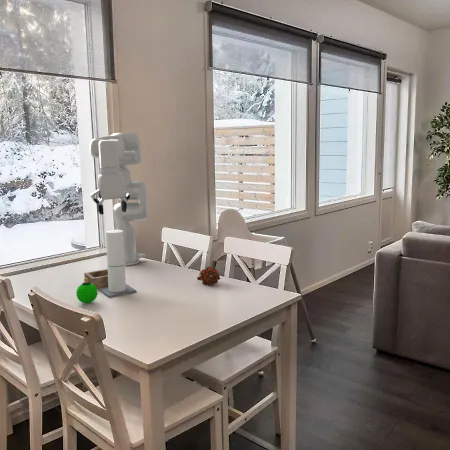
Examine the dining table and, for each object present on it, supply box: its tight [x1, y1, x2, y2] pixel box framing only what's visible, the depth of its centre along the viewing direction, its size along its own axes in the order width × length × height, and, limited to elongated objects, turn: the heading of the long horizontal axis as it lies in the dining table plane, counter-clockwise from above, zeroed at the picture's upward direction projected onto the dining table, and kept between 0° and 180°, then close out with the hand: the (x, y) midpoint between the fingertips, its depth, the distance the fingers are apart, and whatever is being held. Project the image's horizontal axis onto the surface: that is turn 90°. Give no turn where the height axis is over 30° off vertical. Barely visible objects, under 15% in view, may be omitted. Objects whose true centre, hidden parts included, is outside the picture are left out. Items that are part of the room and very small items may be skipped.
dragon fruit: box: [196, 266, 221, 287], centre depth 208 cm, size 8×8×12 cm
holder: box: [83, 268, 109, 290], centre depth 211 cm, size 11×11×5 cm
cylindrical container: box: [105, 229, 127, 292], centre depth 199 cm, size 7×7×25 cm
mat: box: [98, 283, 137, 299], centre depth 201 cm, size 12×12×1 cm
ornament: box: [76, 277, 99, 304], centre depth 187 cm, size 8×8×10 cm
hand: (112, 212), depth 196 cm, fingers open, 9 cm apart
